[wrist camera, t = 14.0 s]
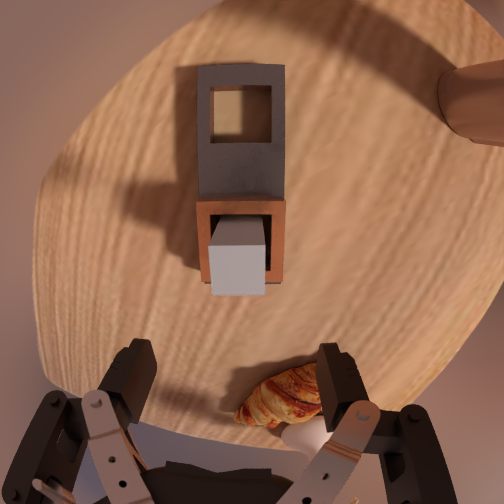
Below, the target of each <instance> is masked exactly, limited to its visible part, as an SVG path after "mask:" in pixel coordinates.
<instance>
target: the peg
mask: <svg viewBox="0 0 504 504" xmlns="http://www.w3.org/2000/svg"><path fill="white" fill-rule="evenodd" d="M208 249H209V263H210V275H211V287H212V295H265V238H264V229H263V221H262V214H222V216H221V218H220V220H219V222H218V225H217V227H216V229H215V231H214V234H213V236H212V238H211V241H210V243H209V245H208Z"/></svg>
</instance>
